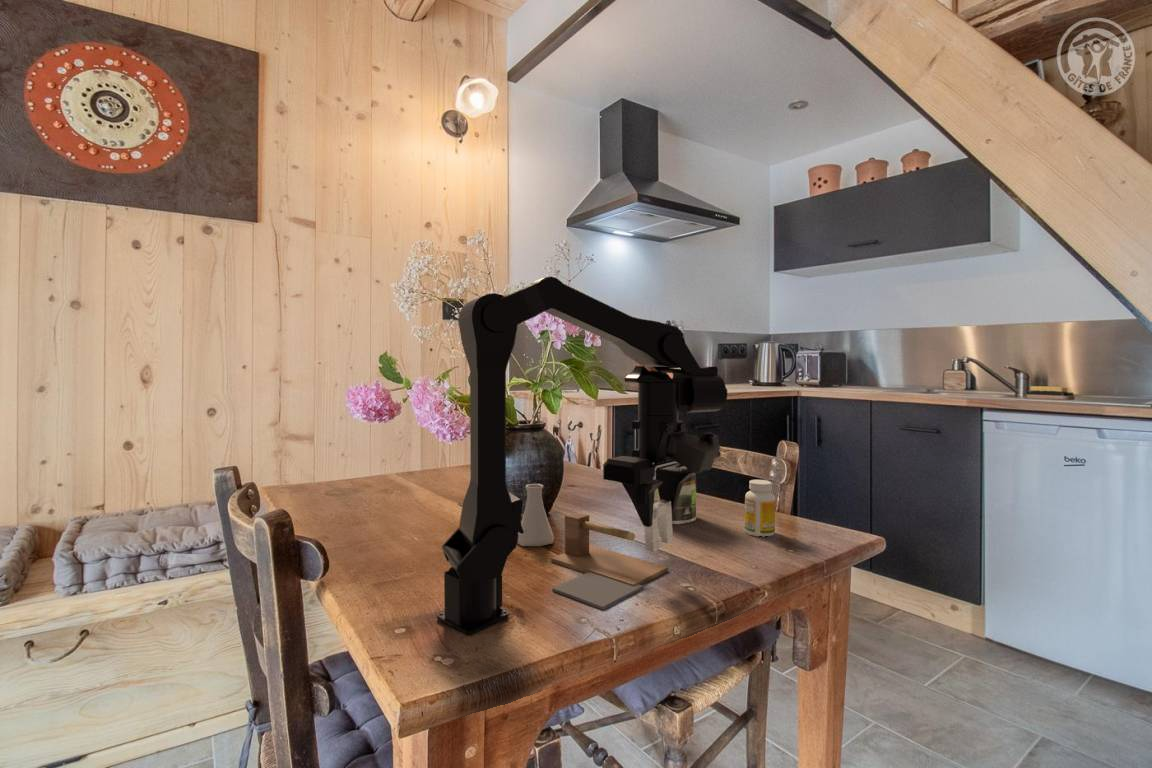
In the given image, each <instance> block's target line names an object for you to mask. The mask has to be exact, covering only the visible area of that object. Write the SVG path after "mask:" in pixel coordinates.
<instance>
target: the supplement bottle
mask: <svg viewBox="0 0 1152 768" xmlns="http://www.w3.org/2000/svg"><path fill="white" fill-rule="evenodd" d="M748 485H749V486H748V488H749V491H747V492H746V493H745V496H744V531H745V533H746V534H747V535H749V536H754V537H759V536H762V538H763V537H764V538H765V536H768V537H772V536H773V535H775V533H776V495H775V494H774V493H772V492H771V491H772V489H773V482H772V481H770V480H767V479H751V480H749V483H748Z"/></svg>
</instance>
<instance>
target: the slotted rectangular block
mask: <svg viewBox="0 0 1152 768" xmlns="http://www.w3.org/2000/svg"><path fill="white" fill-rule="evenodd" d="M658 518H659V523H658ZM673 535H674V534H673V524H672V510H671V501H669V500H664V499H663V500H661V501H659V502H656V503H654V506H653V517H652V523H651V526H650V527H646V526H644V541H645V542H644V543H645V551H650V552H653V553H655V552H656V551H658V550H659V549H661V548H663V543H665V544H669V543H671V542H673V541H674V537H673Z"/></svg>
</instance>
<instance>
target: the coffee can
mask: <svg viewBox="0 0 1152 768" xmlns="http://www.w3.org/2000/svg"><path fill="white" fill-rule="evenodd" d="M653 464H654V463H653ZM659 501H660V497H659V492H658V488H657V489H656V490H655V494H654V503H656V502H659ZM696 520H697V473H695V474H693V475H692V476H691V477H689V478H688V479H687V480H686V481H685V482H684V484H683V486H682V489H681V491H680V494H679V498H678V501H677V504H676V507H675V510H674V513H673V517H672V525H685V524H686V523H687V524H691V523H694V522H695V521H696ZM693 521H694V522H693ZM690 522H691V523H690ZM658 524H659V518H658Z"/></svg>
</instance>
